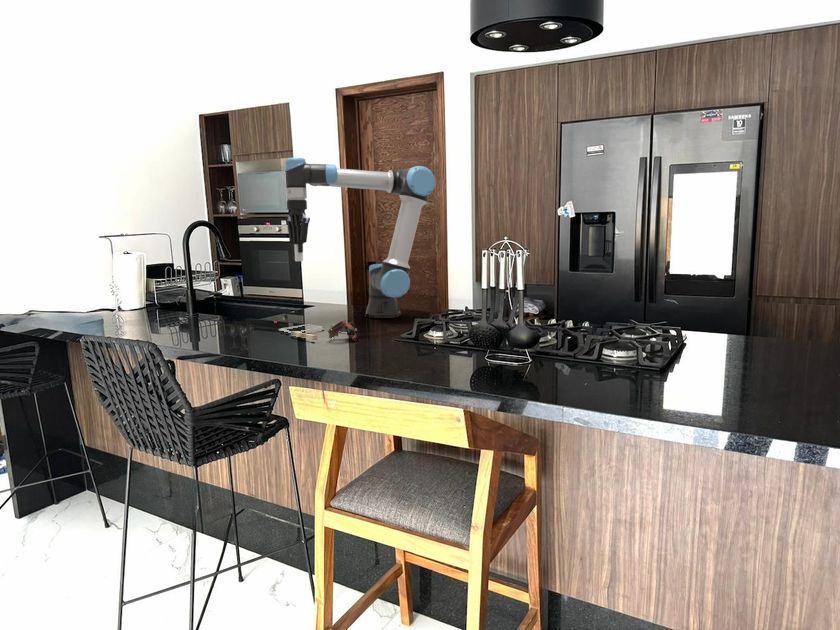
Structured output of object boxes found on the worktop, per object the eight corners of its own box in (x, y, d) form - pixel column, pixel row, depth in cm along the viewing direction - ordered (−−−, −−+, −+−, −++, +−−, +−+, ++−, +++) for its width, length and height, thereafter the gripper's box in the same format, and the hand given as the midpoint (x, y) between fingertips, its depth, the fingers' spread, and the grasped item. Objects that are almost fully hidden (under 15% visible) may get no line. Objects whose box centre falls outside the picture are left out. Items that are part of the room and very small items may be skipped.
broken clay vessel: (354, 345, 213) (341, 326, 211) (333, 355, 217) (320, 336, 215) (366, 331, 223) (354, 312, 222) (347, 340, 228) (334, 321, 226)
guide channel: (291, 337, 224) (290, 331, 224) (333, 330, 238) (332, 324, 238) (314, 343, 215) (314, 336, 214) (357, 335, 229) (356, 328, 228)
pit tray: (278, 332, 234) (278, 328, 234) (308, 327, 244) (308, 324, 244) (293, 336, 228) (293, 332, 227) (324, 331, 238) (324, 327, 237)
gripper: (278, 199, 239) (281, 260, 242) (298, 198, 230) (301, 262, 234) (294, 199, 244) (297, 259, 248) (315, 199, 235) (317, 261, 239)
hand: (299, 260), depth 241 cm, fingers closed
